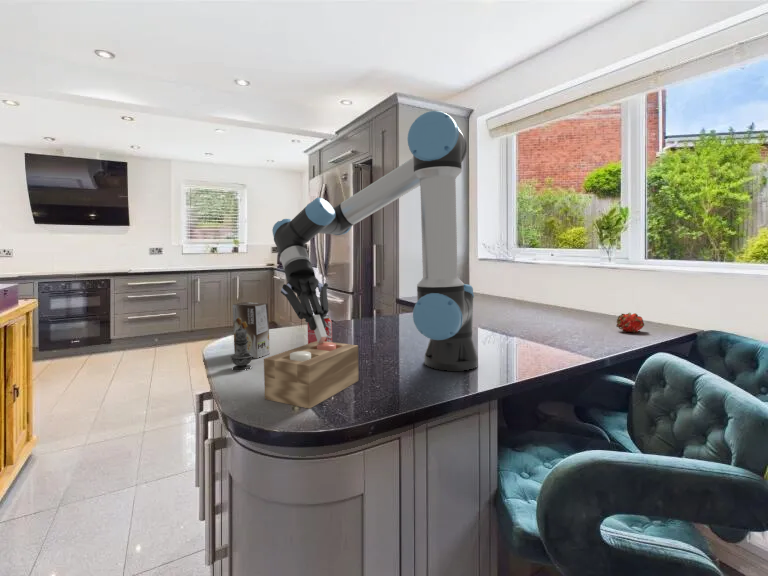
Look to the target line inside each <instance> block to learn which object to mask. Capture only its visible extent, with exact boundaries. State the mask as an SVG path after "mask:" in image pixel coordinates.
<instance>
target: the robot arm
mask: <svg viewBox="0 0 768 576" xmlns="http://www.w3.org/2000/svg"><path fill="white" fill-rule="evenodd" d="M467 143H468V142H467V139H466V137H465V135H464V133H463V132H462V131H461V129H460V128H459V125H458V123H457V121H456V120H455V119H454V118H453V117H452V116H451V115H449V114H448V113H446V112H443V111H440V110H431V111H426V112H424V113H421V115H419V116H418V117H417V118H416V119H415V120H414V121H413V122H412V123H411V125H410V127H409V129H408V132H407V145H408V149H409V151H410V153H411V154H412V158H411V159H409V160H407V161H406V162H404V163H402V164H401V165H399V166H398V167H396V168H394V169H393V170H391V171H390V172H388V173H386V174H385V175H383V176H381V177H380V178H378V179H377V180H375V181H374V182H372V183H370V184H369V185H367V186H366V187H365V188H363V189H361V190H359V191H358V192H356V193H355V194H353V195H352V196H349V197H348V198H347V199H345V200H344V201H341V202H340V203H339V204H337V205H335V206H334V207H333V206H332V204H331V203H330V202H329V201H328V200H325V199H324V198H323V197H316V198H314V199H313V200H312V201H311V202H309V203H308V204H307V205H306V206H305V207H304V208H303V209H302V210H301V211H300V212H299V213H298V214H296V215H295V216H294V217H293V218H292V219H291V218H283V219H281V220H278V221H277V222H276V223H274V225H273V226H272V230H271V231H272V236H273V241H274V243H275V246H276V248H277V249H276V250H277V251H278V254H279V258H280V262H281V264H282V269H283V270H284V274H285V278H286V281H287V284H285V283H284V284H283V285H282V287H281V290H280V293H281V294H282V295H283V296H284V297H286V300H287V301H288V302H289V304H290V306H291V307H292V309H293V311H294V312H295V314H296V316H297V317H298V319H299V320H303V319H305V320H304V321H305V322H306V323H307V325H308V324H309V327H310V329H311V330H314V332H315V335H316V338H317V341H318V343H322V342H324V341H325V339H326V338H327V334H326V331H325V327H326V323H325V320H324V317H326V315H328V313H329V310H330V309H329V302H328V291H327V290H328V287H329V283H327V282H325V283H322V282H319V279H318V278H317V277H316V275H315V271H314V267H313V265H312V263H311V259H310V255H309V254H308V252H307V249H306V244H307V243H308V242H310V241H311V240H312V239H314V237H316V236H317V235H318V234H322V235H323V234H324V235H332V236H341V235H345V234H347V233H349V231H350V230H351V228H352V227H353V226H355V225H356V224H358V223H359V222H361V221H362V220H364V219H366V218H368V217H369V216H371V215H372V214H374V213H376V212H378V211H380V210H381V209H383V208H385V207H386V206H388V205H390V204H391V203H393V202H394V201H396V200H398V199H400V198H401V197H404V196H405V195H406V194H408V193H410V192H411V191H413V190H415V189H416V188H418V187H420V189H419V191H420V215H421V216H420V219H421V221H420V223H421V224H420V225H421V252H422V253H421V255H422V259H421V260H422V261H421V262H422V278H421V280H420V281H419V282H418V283H417V284H416V294H417V296H416V297H417V299H416V303H415V304H414V307H413V310H412V320H413V323H414V325H415V326H414V327H416V330H417V331H418V332H419V333H420V334H422V335H423V337H425V338H428V339H429V341H428V344H427V347H426V350H425V352H424V357H423V358H424V362H423V363H424V365H425V366H426V365H427V366H426V367H429V368H430V367H431V369H433V368H434V369H435V370H438V369H439V371H444V370H447V371H446V372H465V371H464V370H467V371H470V370H469V369H472V370H474V369H476V368H477V367H478V366H479V356H478V354H477V350H476V346H475V343H474V340H473V320H474V319H473V317H474V316H473V312H474V298H475V295H474V288H473V286H472V285H471V284H465V283H464V282H463V281H462V280H461V279H460V277H458V237H457V236H458V235H457V233H458V232H457V229H458V228H457V195H456V194H457V193H456V192H457V190H456V189H457V187H456V186H457V185H456V182H457V181H456V180H457V178H458V176H459V175H460V174H461V173H462V172H463V170H462V165H463V163H462V162H463V161H464V160H465V158H466V156H467V153H468V151H467V150H468V144H467ZM317 288H318V292H319V298H318V295H317ZM313 315H314V316H313ZM476 366H477V367H476ZM475 367H476V368H475ZM473 368H474V369H473Z"/></svg>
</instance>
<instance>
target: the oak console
mask: <svg viewBox="0 0 768 576" xmlns="http://www.w3.org/2000/svg"><path fill="white" fill-rule="evenodd" d="M322 343H326V341H324V342H322ZM330 343H335V344H336V349H334V350H332V351H325V350H317V344H319V343H318V341H315V342H312V343H309V344H308V343H307V344H303V345H300V346H298V347H294V348H291V349H289V350H286V351H282V352H280V353H278V354H273V355H271V356H268V357H265V358H263V381H264V400H268V401H272V402H276V403H281V404H286V405H290V406H295V407H301V408H305V409H312V408H313V407H316V406H318V405H319V404H320V403H322V402H325V401H326V400H328V399H330V398H331V397H333V396H335V395H336V394H338V393H340V392H341V391H343V390H345V389H347V388H349V387H350V386H353V385H354V384H356V383H358V382H359V344H358V345H357V344H350V343H342V342H334V341H332V342H330ZM298 351H307V352H310V353H311V359H309V360H306V361H304V362H302V361H296V360H290V353H293V352H298Z"/></svg>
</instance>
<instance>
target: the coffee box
mask: <svg viewBox="0 0 768 576" xmlns="http://www.w3.org/2000/svg"><path fill="white" fill-rule="evenodd" d="M269 322H270V321H269V303H267V302H266V303H265V302H252V301H251V302H250V301H248V302H247V301H245V302H244V301H243V302H238V303H237V302H236V303H233V304H232V323H233V327H232V328H233V344H234V345H233V346H234V349H233V350H234V352H235V351H236V344H235V343H234V342H235V341H236V333H235V332H236V330H237V329H239V328H240V326H242V328H243V329H245V330H246V331H247V341H248V343H247V349H248V352H249V353H251V354H253V356H252V357H253V358H252V359H259V357H260V358H262V356H263V357H266V356H269V355H270V353H271V352H270V350H271V349H270V324H269Z"/></svg>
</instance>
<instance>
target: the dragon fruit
mask: <svg viewBox="0 0 768 576" xmlns="http://www.w3.org/2000/svg"><path fill="white" fill-rule="evenodd" d="M644 326H645V323H644V319H643V317H642V316H639V315H638V313H633V314H632V313H631V312H628V313H621V314H620V315H619V316H617V319H616V328H618V329H619V330H622V332H623V333H627V332H630V333H638V334H639V333H640V332H641V330H642V328H644Z"/></svg>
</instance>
